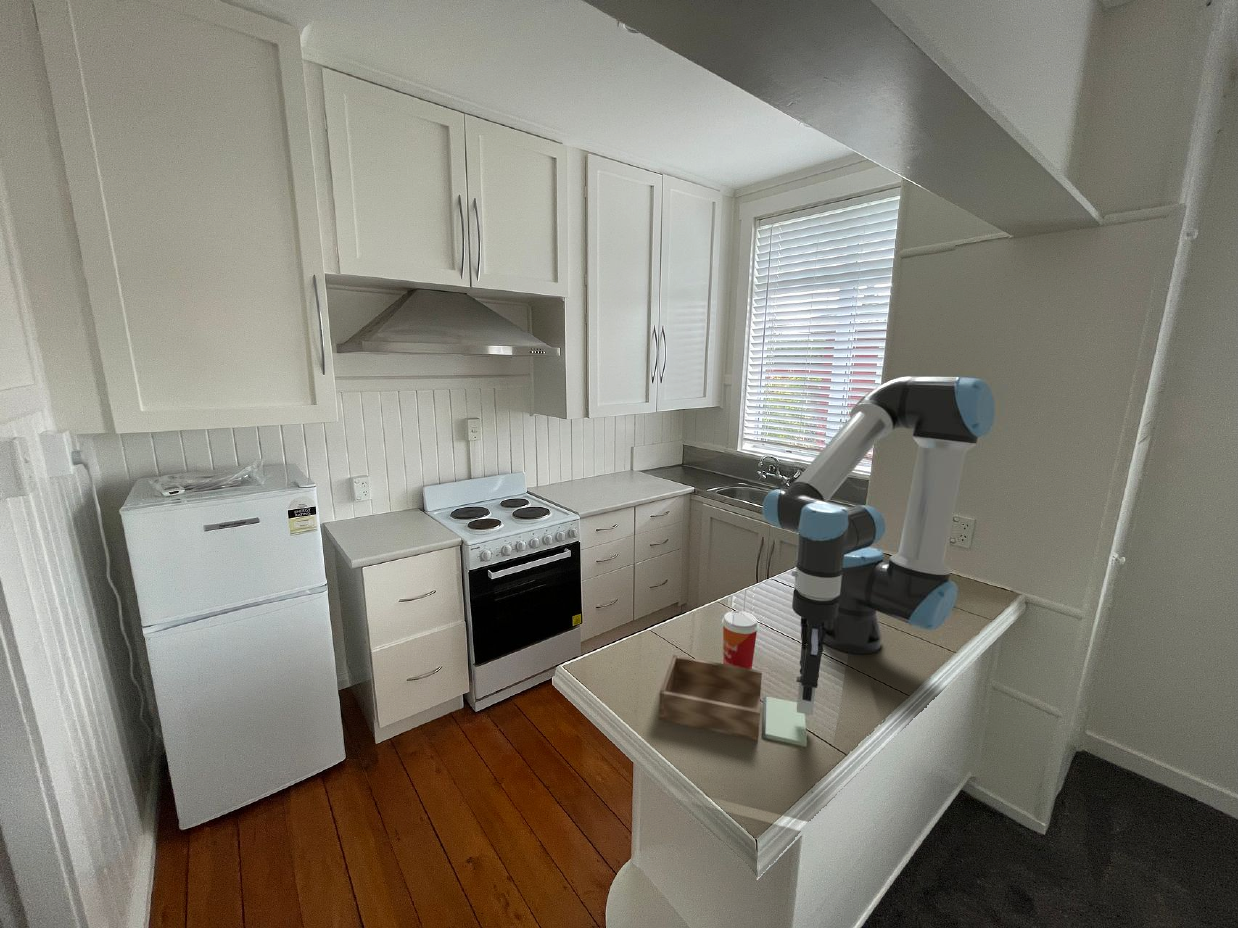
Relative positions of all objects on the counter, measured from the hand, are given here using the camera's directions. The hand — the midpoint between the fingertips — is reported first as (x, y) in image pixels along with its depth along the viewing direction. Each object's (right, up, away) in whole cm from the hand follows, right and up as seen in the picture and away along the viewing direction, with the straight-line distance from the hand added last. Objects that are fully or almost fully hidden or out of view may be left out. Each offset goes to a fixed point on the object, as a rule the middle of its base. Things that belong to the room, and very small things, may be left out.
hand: (804, 711), depth 93 cm
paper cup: (-9, -1, +16) cm, 18 cm away
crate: (-16, -3, +6) cm, 17 cm away
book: (-7, -3, +3) cm, 8 cm away
